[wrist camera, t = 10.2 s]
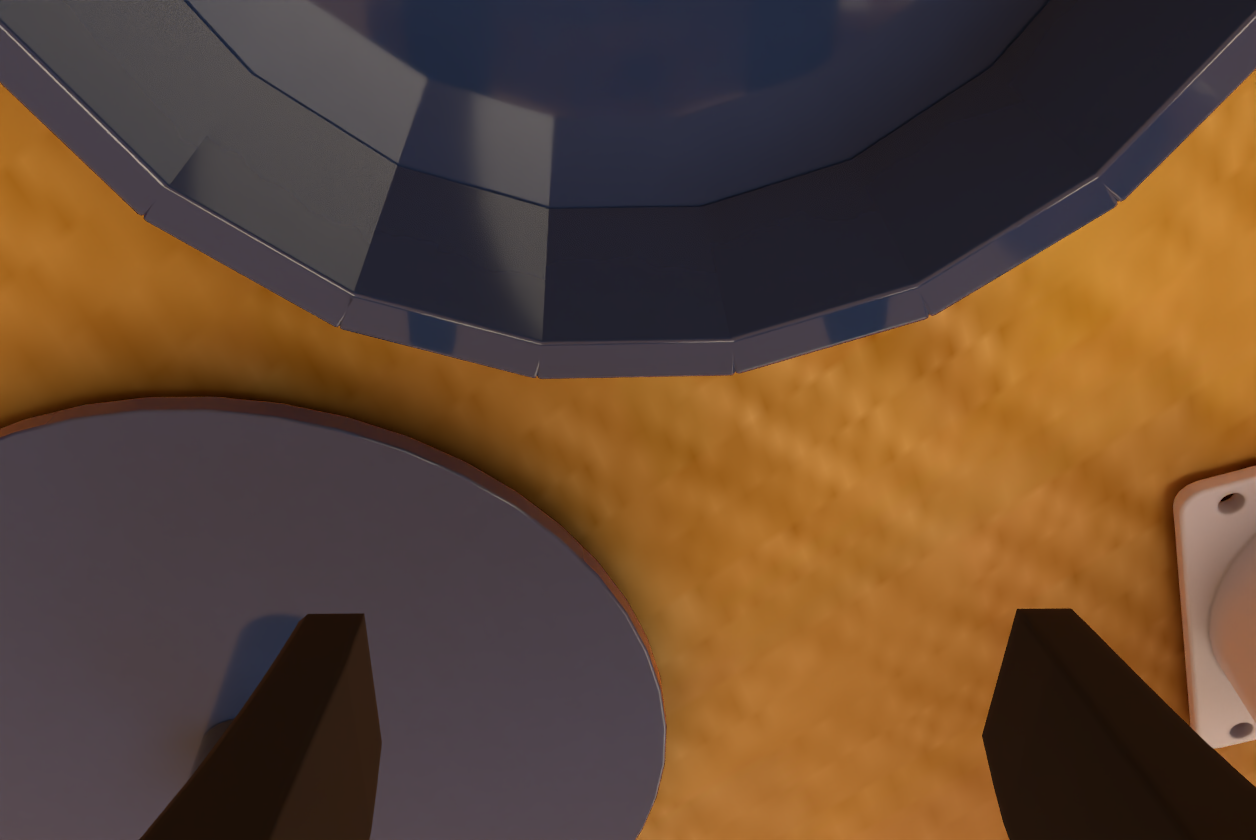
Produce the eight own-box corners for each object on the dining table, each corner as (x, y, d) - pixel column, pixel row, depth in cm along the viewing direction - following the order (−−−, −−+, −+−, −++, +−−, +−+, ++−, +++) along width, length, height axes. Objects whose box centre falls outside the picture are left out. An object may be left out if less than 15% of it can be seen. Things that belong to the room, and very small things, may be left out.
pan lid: (490, 256, 20) (472, 387, 17) (751, 860, 30) (774, 1025, 26) (-367, 528, 23) (-540, 690, 19) (127, 1004, 33) (71, 1172, 29)
